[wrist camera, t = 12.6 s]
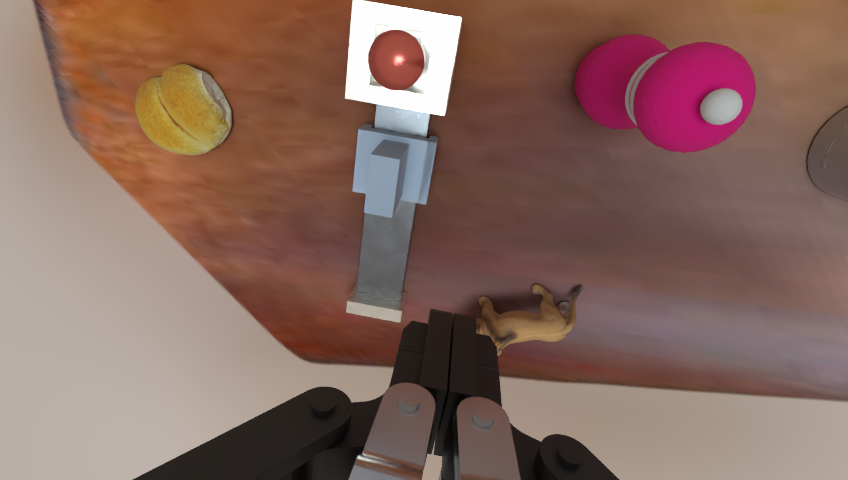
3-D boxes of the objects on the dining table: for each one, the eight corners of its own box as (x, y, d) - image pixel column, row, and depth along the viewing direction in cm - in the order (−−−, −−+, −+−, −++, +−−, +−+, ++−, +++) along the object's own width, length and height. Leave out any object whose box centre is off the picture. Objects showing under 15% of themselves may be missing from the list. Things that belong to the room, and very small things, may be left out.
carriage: (438, 136, 42) (431, 158, 34) (428, 195, 45) (419, 228, 36) (365, 123, 42) (340, 142, 34) (359, 182, 45) (335, 213, 37)
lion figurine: (466, 340, 53) (465, 394, 44) (448, 305, 51) (445, 354, 43) (587, 302, 49) (611, 354, 41) (573, 263, 47) (595, 309, 39)
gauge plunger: (434, 36, 35) (428, 34, 30) (426, 87, 37) (419, 95, 32) (385, 27, 35) (371, 24, 30) (379, 79, 37) (365, 85, 32)
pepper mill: (664, 92, 39) (831, 133, 21) (589, 135, 42) (682, 205, 23) (632, 17, 37) (788, -9, 19) (554, 66, 39) (628, 85, 21)
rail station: (462, 22, 39) (461, 17, 31) (413, 304, 51) (404, 347, 44) (374, 7, 39) (352, -2, 32) (346, 292, 51) (326, 332, 44)
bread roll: (133, 92, 44) (103, 97, 41) (201, 52, 42) (176, 52, 38) (182, 165, 47) (158, 176, 43) (249, 131, 45) (229, 138, 41)
